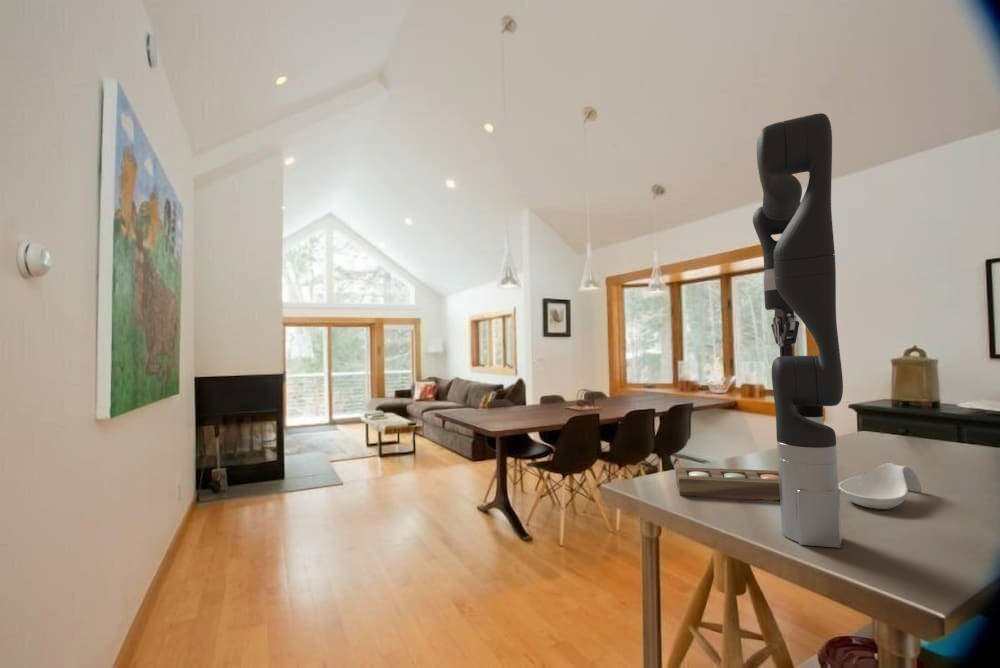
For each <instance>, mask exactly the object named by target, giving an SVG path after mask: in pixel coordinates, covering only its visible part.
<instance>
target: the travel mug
mask: <svg viewBox="0 0 1000 668" xmlns="http://www.w3.org/2000/svg"><path fill="white" fill-rule="evenodd" d="M823 409H824V406H800V405H795V406H794V410H795V411H796V412H797V413H798V414H800V415H801V416H803V417H805V418H807V419H809V420H811V421H814V422H817V423H820V424H823V425H825V422H824V417H825V416H824V410H823Z"/></svg>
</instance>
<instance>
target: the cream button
mask: <svg viewBox="0 0 1000 668" xmlns="http://www.w3.org/2000/svg"><path fill="white" fill-rule="evenodd" d="M689 476H698V477H709V474H708V473H705V472H690V473H689Z"/></svg>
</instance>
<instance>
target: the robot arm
mask: <svg viewBox="0 0 1000 668" xmlns="http://www.w3.org/2000/svg"><path fill="white" fill-rule="evenodd" d="M756 161H757V163H756V164H757V170H758V177H759V180H760V184H761V187H762V194H763V197H762V206H760V207H758V208H757V209H756V210H755V212H754V213H753V216H752V223H753V227H754V228H753V229H754V230H755V233H756V235H757V238H758V240H759V242H760V246H761V249H762V250H761V251H762V256H763V270H764V272H763V295H764V308H765V310H768V311H774V317H772V323H771V330H772V333H773V337H774V341H775V343H776V345H777V346H778V347H779V356H777V357H775V358H774V360H773V362H772V365H771V383H772V393H773V400H774V402H773V403H774V409H775V410H774V411H775V421H776V422H775V424H776V425H775V426H776V427H775V428H776V450H777V468H778V470H777V471H778V473H779V491H780V501H779V507H780V518H781V519H780V521H781V534H783V536H785V537H786V538H788V539H789V540H792V541H794V542H796V543H798V544H799V545H801V546H813V547H815V546H816V547H827V548H838V549H839V548H841V544H842V542H843V536H842V535H843V534H842V533H843V532H842V518H841V504H840V503H841V502H840V500H841V499H840V490H839V473H838V472H839V470H838V453H837V452H838V451H837V435H836V431H835V430H834V429H833V427H830V426H828V425H825V424H824V425H823V424H820V423H817V422H814V421H811V420H809V419H807V418H805V417H803V416H801V415H800V414H798V413H797V412H796V411H795V410H794V406H795V405H800V406H823V407H834V406H835V407H836V406H837V405H839V404H840V403H841V401H842V399H843V394H844V393H843V392H844V380H843V379H844V378H843V368H842V360H841V353H840V342H839V336H838V335H839V334H838V324H837V283H836V282H837V281H836V280H837V278H836V277H837V275H836V271H837V270H836V253H835V251H836V250H835V240H834V232H833V231H834V230H833V228H834V227H833V226H834V225H833V216H832V215H833V214H832V176H833V175H832V172H833V171H832V170H833V130H832V125H831V121H830V119H829V117H828V115H827V114H825V113H821V112H819V113H814V114H810V115H809V114H808V115H804V116H800V117H796V118H792V119H787V120H783V121H778V122H775V123H772V124H768V125H766V126H765V127H763V128H762V129H761V130H760V132H759V133H758V138H757V140H756ZM807 172H808V173H809V175H808V176H809V177H808V181H807V182H808V183H807V187H806V190H805V193H804V195H803V188H802V184H801V182H800V180H799V179H798V178H797V177H796V176H794V175H797V174H799V173H800V174H801V173H807ZM802 195H803V198H802ZM774 235H775V236H776V235H781V236H779V239H778V240H775V239H774V238H773V237H772V236H774ZM795 314H796V316H795ZM797 316H798V318H799V319H800V320H801V321H802V323H803V324H804V325H805V326H806V328H807V330H808V331H809V333H810V334H811V336H812V338H813V340H814V342H815V343H816V346H817V349H818V355H817V354H816V355H793V347H794V344H796V342H797V338H798V332H799V327H800V322H799V320H797Z"/></svg>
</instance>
